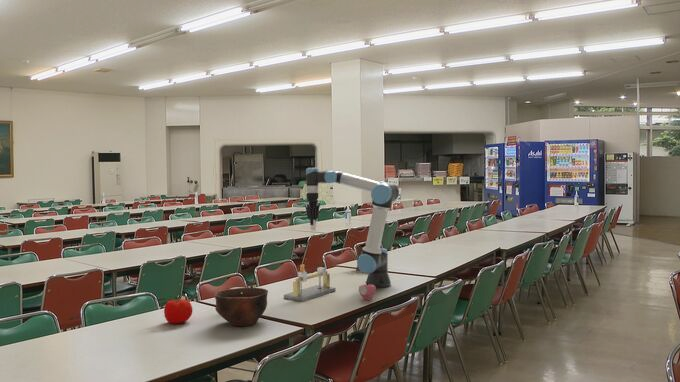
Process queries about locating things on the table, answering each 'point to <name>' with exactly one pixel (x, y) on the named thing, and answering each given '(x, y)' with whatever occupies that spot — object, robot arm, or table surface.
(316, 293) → the grey and yellow frame
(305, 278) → the slider leg
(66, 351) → the table surface
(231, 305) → the bowl
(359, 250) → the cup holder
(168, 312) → the tomato
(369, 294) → the apple
